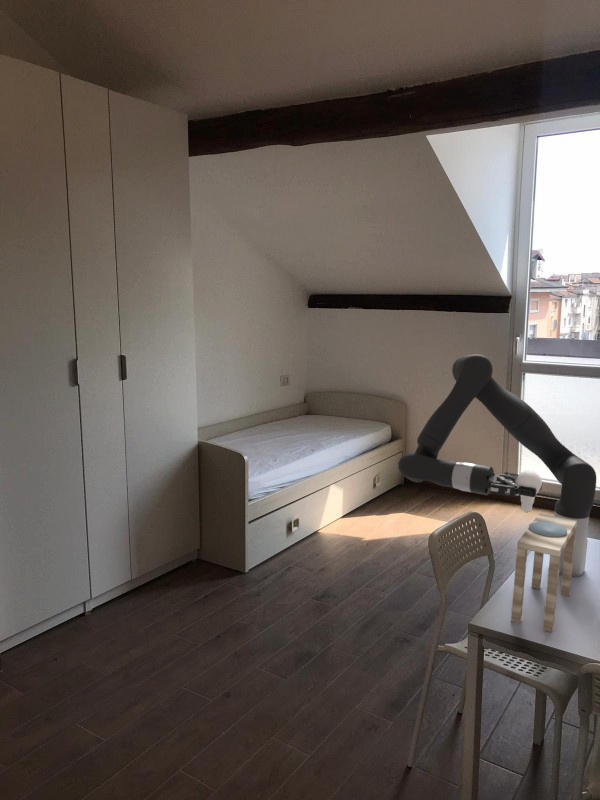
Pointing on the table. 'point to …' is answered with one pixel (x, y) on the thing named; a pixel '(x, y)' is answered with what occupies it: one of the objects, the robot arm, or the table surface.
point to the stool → (542, 539)
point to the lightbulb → (528, 480)
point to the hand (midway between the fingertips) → (538, 489)
